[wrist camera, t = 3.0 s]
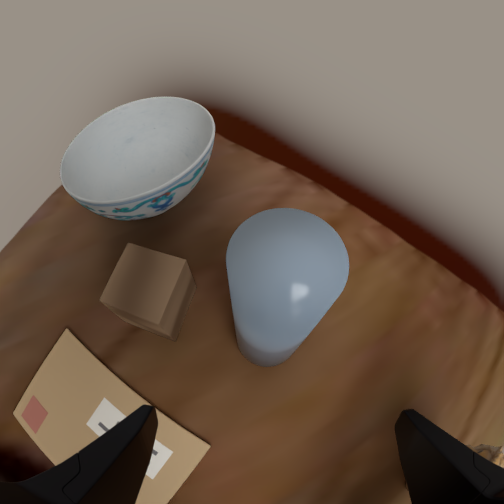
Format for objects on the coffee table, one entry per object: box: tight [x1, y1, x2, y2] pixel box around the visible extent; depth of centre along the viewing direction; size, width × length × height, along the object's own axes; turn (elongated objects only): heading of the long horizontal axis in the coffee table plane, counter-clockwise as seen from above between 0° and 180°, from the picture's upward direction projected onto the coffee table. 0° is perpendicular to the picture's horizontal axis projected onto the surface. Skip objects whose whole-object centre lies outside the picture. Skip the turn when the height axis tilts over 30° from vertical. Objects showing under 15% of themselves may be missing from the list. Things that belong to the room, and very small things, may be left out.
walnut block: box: [99, 243, 197, 342], centre depth 21 cm, size 5×5×5 cm
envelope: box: [13, 328, 211, 504], centre depth 17 cm, size 16×12×1 cm
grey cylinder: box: [226, 208, 349, 367], centre depth 17 cm, size 5×5×13 cm
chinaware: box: [60, 97, 215, 220], centre depth 26 cm, size 15×15×8 cm
